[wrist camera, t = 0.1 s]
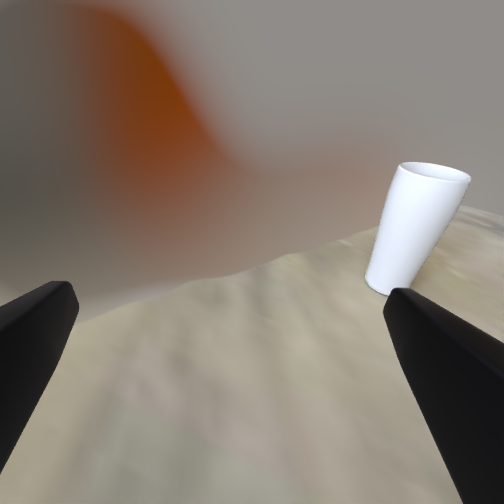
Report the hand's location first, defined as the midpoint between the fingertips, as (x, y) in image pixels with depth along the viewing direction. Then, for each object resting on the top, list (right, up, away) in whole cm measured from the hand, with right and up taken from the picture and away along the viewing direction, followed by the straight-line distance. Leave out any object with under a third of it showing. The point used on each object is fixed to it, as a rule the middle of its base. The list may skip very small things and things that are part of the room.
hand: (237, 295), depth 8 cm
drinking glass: (+18, -3, +28) cm, 33 cm away
